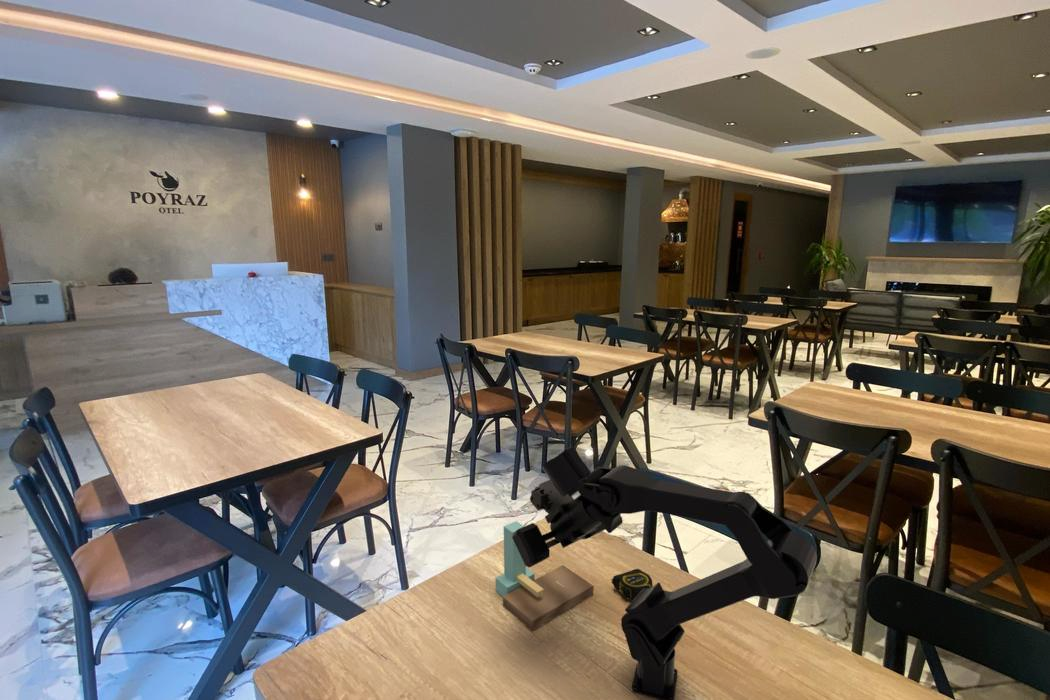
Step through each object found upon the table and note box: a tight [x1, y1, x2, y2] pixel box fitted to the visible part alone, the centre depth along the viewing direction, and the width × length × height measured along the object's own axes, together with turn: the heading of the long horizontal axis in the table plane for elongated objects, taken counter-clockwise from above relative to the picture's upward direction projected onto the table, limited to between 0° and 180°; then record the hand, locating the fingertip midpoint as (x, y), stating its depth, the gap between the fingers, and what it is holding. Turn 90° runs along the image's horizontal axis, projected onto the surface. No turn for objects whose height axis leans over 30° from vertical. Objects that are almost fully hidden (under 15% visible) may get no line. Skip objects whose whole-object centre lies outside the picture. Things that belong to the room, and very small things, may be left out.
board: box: [502, 565, 595, 632], centre depth 106 cm, size 16×9×2 cm, turn 129°
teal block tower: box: [495, 520, 544, 598], centre depth 106 cm, size 7×10×14 cm
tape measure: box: [611, 568, 654, 602], centre depth 107 cm, size 7×7×4 cm
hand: (540, 546), depth 101 cm, fingers open, 9 cm apart
